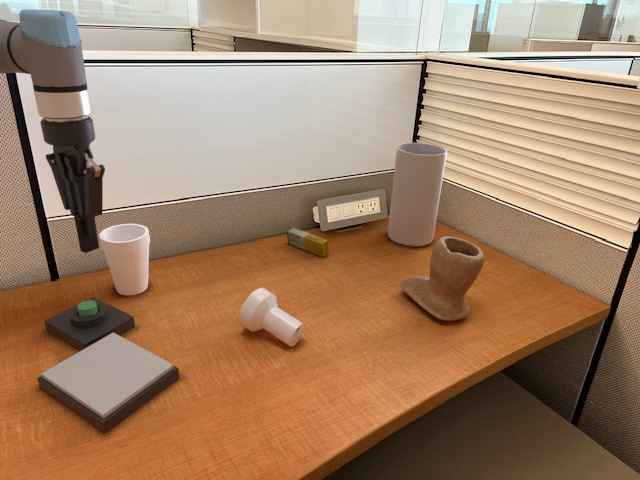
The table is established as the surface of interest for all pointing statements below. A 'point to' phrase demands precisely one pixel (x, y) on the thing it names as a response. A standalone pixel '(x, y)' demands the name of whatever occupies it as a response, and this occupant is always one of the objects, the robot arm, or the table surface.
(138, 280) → the foam cup
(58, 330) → the dark grey button base
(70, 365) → the scale
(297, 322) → the spotlight
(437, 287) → the stone cup
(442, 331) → the table surface
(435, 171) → the cylinder vase
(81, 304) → the button
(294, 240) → the medication box
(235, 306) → the table surface
